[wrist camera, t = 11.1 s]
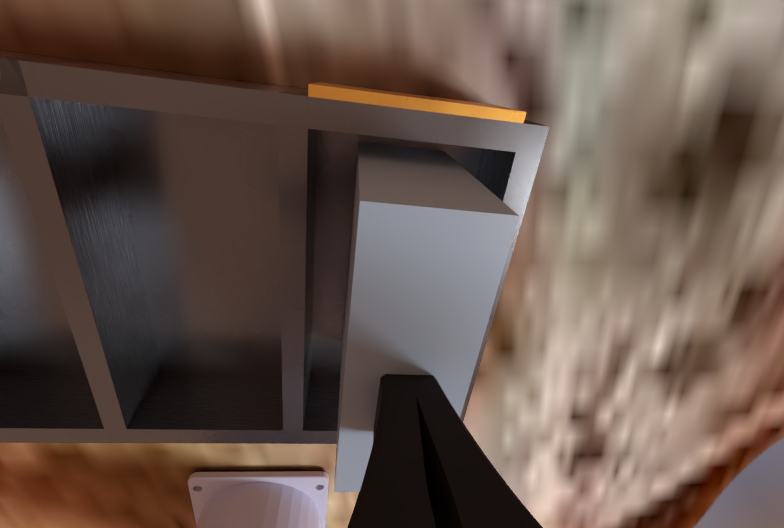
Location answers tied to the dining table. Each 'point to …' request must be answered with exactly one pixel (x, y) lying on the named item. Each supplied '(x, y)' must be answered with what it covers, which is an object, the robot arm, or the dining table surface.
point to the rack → (198, 245)
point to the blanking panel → (414, 284)
